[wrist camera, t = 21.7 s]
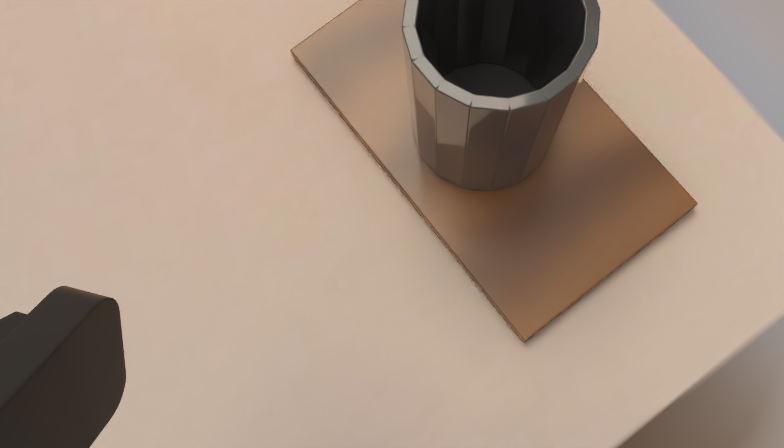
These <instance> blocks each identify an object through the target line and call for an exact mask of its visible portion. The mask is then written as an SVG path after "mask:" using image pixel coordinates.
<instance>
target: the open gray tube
mask: <svg viewBox="0 0 784 448" xmlns="http://www.w3.org/2000/svg"><path fill="white" fill-rule="evenodd" d="M599 23H600V7H599V5H598V2H597V0H405V4H404V11H403V18H402V25H401V28H402V38H403V47H404V57H405V66H406V75H407V85H408V94H409V103H410V112H411V122H412V128H413V132H414V136H415V141H416V144H417V147H418V149H419V152H420V153H421V155H422V157H423V159H424V160H425V162H426V163H427V164H428V166H429V167H430V168H431V169H432V170H433V171H434V172H435V173H436V174H437V175H439V176H440V177H441V178H443V179H444V180H446V181H448V182H449V183H451V184H454V185H456V186H458V187H461V188H464V189H469V190H474V191H495V190H500V189H504V188H507V187H510V186H513V185H515V184H517V183H519V182H521V181H523V180H524V179H526V178H527V177H529V176H530V175H531V174H532V173H533V172H534V171H536V170H537V168H538V167H539V166H540V165H541V164H542V163H543V161H544V159H545V158H546V156H547V154H548V152H549V150H550V148H551V147H552V145H553V143H554V141H555V139H556V137H557V135H558V132H559V130H560V128H561V126H562V124H563V121H564V119H565V117H566V115H567V112H568V110H569V108H570V106H571V104H572V101H573V99H574V97H575V95H576V93H577V90H578V88H579V86H580V84H581V81H582V79H583V77H584V75H585V73H586V70H587V68H588V66H589V64H590V62H591V59H592V57H593V55H594V53H595V51H596V48H597V45H598V36H599Z"/></svg>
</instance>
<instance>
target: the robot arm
mask: <svg viewBox="0 0 784 448" xmlns="http://www.w3.org/2000/svg"><path fill="white" fill-rule="evenodd" d="M125 382H126V369H125V359H124V350H123V340H122V330H121V320H120V311H119V306H118V303H117V302H116V300H115V299H113V298H109V297H106V296H102V295H98V294H94V293H90V292H86V291H83V290H79V289H75V288H71V287H67V286H61V287H58V288H56V289H54V290H53V291H52V292H51V293H49V294H48V295H47V296H46V297H45V298H44V299H43V300H42V301H41V302H40V303H39V304H38V305H37V306H36V307H35V308H34V309H33V310H32V311H31V312H30V313H29V314H28V315H27V314H23V313H20V312H14V313H12V314H10V315H8V316H6V317H4V318H2V319H0V448H89V447H90V446H91V445H92V443H93V442H94V441H95V439H96V438H97V437H98V435H99V434H100V432H101V431H102V430H103V428H104V427H105V426H106V424H107V423H108V422H109V420H110V419H111V418H112V416H113V415H114V413H115V411H116V409H117V407H118V405H119V403H120V400H121V398H122V395H123V392H124V387H125Z"/></svg>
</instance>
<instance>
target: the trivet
mask: <svg viewBox="0 0 784 448" xmlns="http://www.w3.org/2000/svg"><path fill="white" fill-rule="evenodd" d="M404 4H405V0H359V1H357V2H356V3H355V4H353V5H352V6H350V7H349V8H348V9H346V10H345V11H344V12H342V13H341V14H339V15H338V16H337V17H335V18H334V19H333V20H331V21H330V22H328V23H327V24H326V25H324V26H323V27H322V28H320V29H319V30H317V31H316V32H315V33H313V34H312V35H311V36H309V37H308V38H306V39H305V40H304V41H302V42H301V43H299V44H298V45H297V46H295V47H294V48H293V49H291V53H292V56H293V57H294V58H295V60H296V61H297V62H298V63H299V65H300V66H301V67H302V68H303V70H304V71H305V72H306V73H307V75H308V76H309V77H310V78H311V79H312V81H313V82H314V83H315V84H316V86H317V87H318V88H319V89H320V91H321V92H322V93H323V94H324V96H325V97H326V98H327V99H328V101H329V102H330V103H331V104H332V106H333V107H334V108H335V109H336V111H337V112H338V113H339V114H340V115H341V117H342V118H343V119H344V120H345V122H346V123H347V124H348V125H349V127H350V128H351V129H352V130H353V132H354V133H355V134H356V135H357V137H358V138H359V139H360V140H361V142H362V143H363V144H364V145H365V146H366V148H367V149H368V150H369V151H370V153H371V154H372V155H373V156H374V158H375V159H376V160H377V161H378V163H379V164H380V165H381V166H382V168H383V169H384V170H385V171H386V173H387V174H388V175H389V176H390V177H391V179H392V180H393V181H394V182H395V184H396V185H397V186H398V187H399V189H400V190H401V191H402V192H403V194H404V195H405V196H406V197H407V199H408V200H409V201H410V202H411V204H412V205H413V206H414V207H415V209H416V210H417V211H418V212H419V213H420V215H421V216H422V217H423V218H424V220H425V221H426V222H427V223H428V225H429V226H430V227H431V228H432V230H433V231H434V232H435V233H436V235H437V236H438V237H439V238H440V240H441V241H442V242H443V243H444V244H445V246H446V247H447V248H448V249H449V251H450V252H451V253H452V254H453V256H454V257H455V258H456V259H457V261H458V262H459V263H460V264H461V266H462V267H463V268H464V269H465V271H466V272H467V273H468V274H469V276H470V277H471V278H472V279H473V280H474V282H475V283H476V284H477V285H478V287H479V288H480V289H481V290H482V292H483V293H484V294H485V295H486V297H487V298H488V299H489V300H490V302H491V303H492V304H493V305H494V307H495V308H496V309H497V310H498V311H499V313H500V314H501V315H502V316H503V318H504V319H505V320H506V321H507V323H508V324H509V325H510V326H511V328H512V329H513V330H514V331H515V333H516V334H517V335H518V336H519V338H520V339H521V340H522V341H523V342H524V341H526V340H527V339H529V338H530V337H531V336H533V335H534V334H535V333H536V332H538V331H539V330H540V329H541V328H543V327H544V326H545V325H546V324H548V323H549V322H550V321H551V320H553V319H554V318H555V317H556V316H558V315H559V314H560V313H561V312H563V311H564V310H565V309H566V308H568V307H569V306H570V305H572V304H573V303H574V302H575V301H577V300H578V299H579V298H580V297H582V296H583V295H584V294H585V293H587V292H588V291H589V290H590V289H592V288H593V287H594V286H595V285H597V284H598V283H599V282H600V281H602V280H603V279H604V278H606V277H607V276H608V275H609V274H611V273H612V272H613V271H614V270H616V269H617V268H618V267H619V266H621V265H622V264H623V263H624V262H626V261H627V260H628V259H629V258H631V257H632V256H633V255H634V254H636V253H637V252H638V251H639V250H641V249H642V248H643V247H645V246H646V245H647V244H648V243H650V242H651V241H652V240H653V239H655V238H656V237H657V236H658V235H660V234H661V233H662V232H663V231H665V230H666V229H667V228H668V227H670V226H671V225H672V224H673V223H675V222H676V221H677V220H679V219H680V218H681V217H682V216H684V215H685V214H686V213H687V212H689V211H690V210H691V209H692V208H694V207H695V206H696V205H697V202H696V201H695V200H694V199H693V198H692V197H691V196H690V195H689V193H688V192H687V191H686V190H685V189H684V188H683V187H682V186H681V185H680V184H679V182H678V181H677V180H676V179H675V178H674V177H673V176H672V175H671V174H670V173H669V172H668V170H667V169H666V168H665V167H664V166H663V165H662V164H661V163H660V162H659V161H658V160H657V158H656V157H655V156H654V155H653V154H652V153H651V152H650V151H649V150H648V149H647V148H646V146H645V145H644V144H643V143H642V142H641V141H640V140H639V139H638V138H637V137H636V136H635V134H634V133H633V132H632V131H631V130H630V129H629V128H628V127H627V126H626V125H625V124H624V122H623V121H622V120H621V119H620V118H619V117H618V116H617V115H616V114H615V113H614V112H613V110H612V109H611V108H610V107H609V106H608V105H607V104H606V103H605V102H604V101H603V100H602V98H601V97H600V96H599V95H598V94H597V93H596V92H595V91H594V90H593V89H592V88H591V86H590V85H589V84H588V83H587V82H586V81H585V80H584V79H582V81H581V84H580V86H579V88H578V90H577V93H576V95H575V97H574V99H573V101H572V104H571V106H570V108H569V110H568V112H567V115H566V117H565V119H564V121H563V124H562V126H561V128H560V130H559V132H558V135H557V137H556V139H555V141H554V143H553V145H552V147H551V148H550V150H549V152H548V154H547V156H546V158H545V159H544V161H543V163H542V164H541V165H540V166H539V167H538V168H537V170H536V171H534V172H533V173H532V174H531V175H530V176H529V177H527V178H526V179H524V180H523V181H521V182H519V183H517V184H515V185H513V186H510V187H507V188H504V189H500V190H495V191H474V190H469V189H464V188H461V187H458V186H456V185H454V184H451V183H449V182H448V181H446V180H444V179H443V178H441V177H440V176H439V175H437V174H436V173H435V172H434V171H433V170H432V169H431V168H430V167H429V166H428V164H427V163H426V162H425V160H424V159H423V157H422V155H421V153H420V152H419V149H418V147H417V144H416V141H415V136H414V132H413V128H412V122H411V112H410V103H409V94H408V85H407V75H406V66H405V57H404V47H403V38H402V28H401V25H402V18H403V11H404Z"/></svg>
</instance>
